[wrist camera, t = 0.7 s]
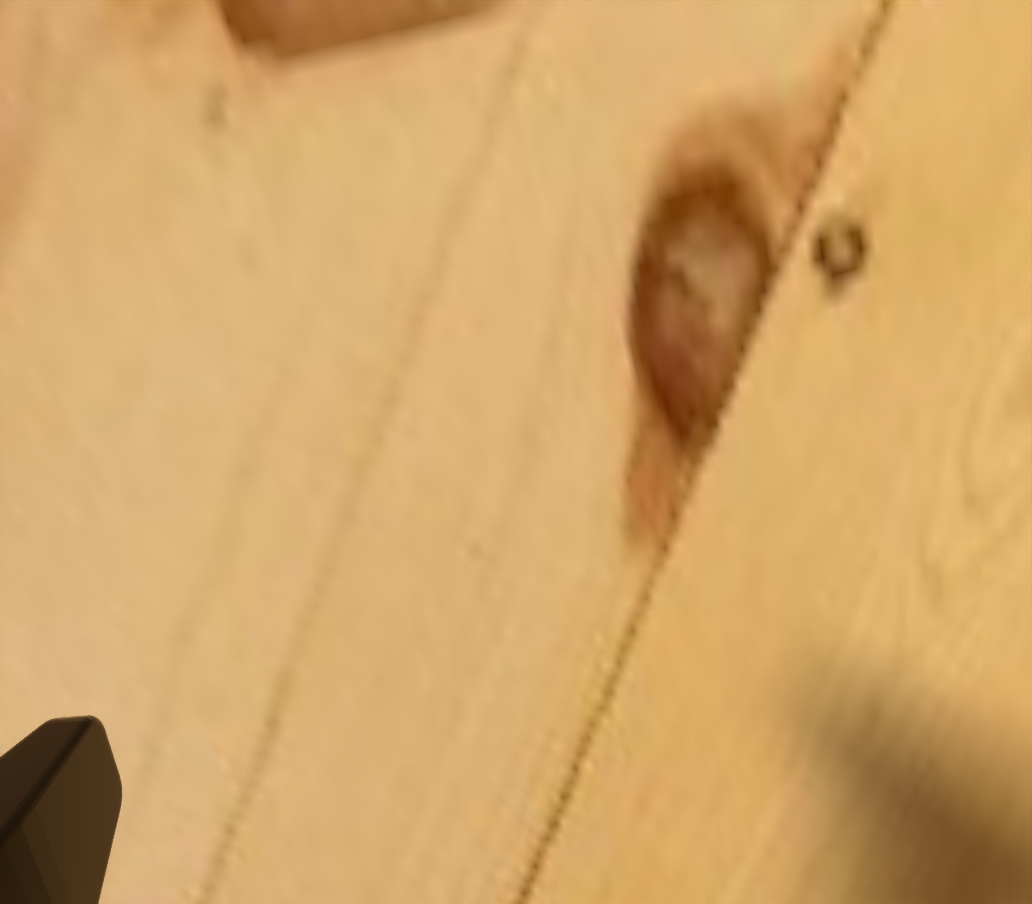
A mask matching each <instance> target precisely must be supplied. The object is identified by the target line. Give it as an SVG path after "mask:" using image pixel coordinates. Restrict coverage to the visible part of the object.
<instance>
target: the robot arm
mask: <svg viewBox="0 0 1032 904" xmlns="http://www.w3.org/2000/svg"><path fill="white" fill-rule="evenodd" d="M121 802H122V784H121V779H120V775H119V772H118V769H117V766H116V763H115V759H114V756H113V753H112V750H111V747H110V744H109V741H108V737H107V734H106V731H105V728H104V726H103V724H102V722H101V721H100V720H99V719H98V718H96V717H94V716H89V715H88V716H75V717H62V718H55V719H51V720H48V721H47V722H45V723H44V724H42V725H41V726H39V727H38V728H37V729H36V730H34V731H33V732H32V733H30V734H29V735H28V736H27V737H25V738H24V739H23V740H21V741H20V742H19V743H18V744H16V745H15V746H14V747H12V748H11V749H10V750H9V751H7V752H6V753H5V754H3V755H2V756H1V757H0V904H98V903H99V899H100V894H101V890H102V886H103V882H104V877H105V873H106V869H107V864H108V860H109V856H110V852H111V847H112V843H113V839H114V834H115V830H116V826H117V822H118V817H119V813H120V808H121Z"/></svg>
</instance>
